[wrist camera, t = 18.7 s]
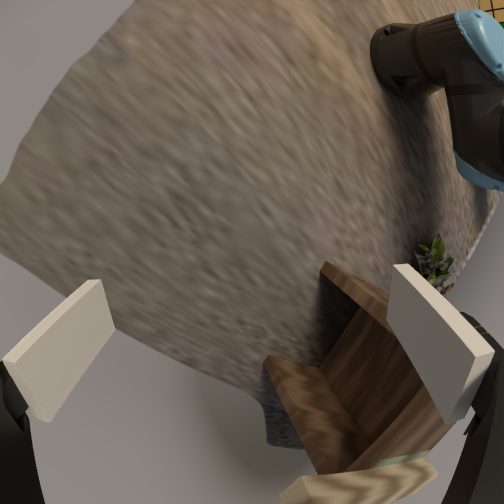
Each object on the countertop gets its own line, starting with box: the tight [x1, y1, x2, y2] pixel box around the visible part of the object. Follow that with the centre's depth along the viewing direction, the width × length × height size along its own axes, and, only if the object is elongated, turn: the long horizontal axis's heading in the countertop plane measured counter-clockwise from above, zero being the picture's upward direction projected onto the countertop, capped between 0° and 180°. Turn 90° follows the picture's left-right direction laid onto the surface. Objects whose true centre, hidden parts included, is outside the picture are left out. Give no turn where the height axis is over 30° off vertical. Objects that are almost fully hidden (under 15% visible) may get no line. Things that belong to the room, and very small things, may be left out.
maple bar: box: [278, 457, 439, 504], centre depth 24 cm, size 24×4×4 cm, turn 63°
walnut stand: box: [263, 261, 457, 475], centre depth 41 cm, size 14×22×30 cm, turn 152°
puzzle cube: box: [478, 0, 504, 29], centre depth 38 cm, size 10×10×10 cm
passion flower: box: [413, 234, 457, 295], centre depth 53 cm, size 11×11×12 cm
